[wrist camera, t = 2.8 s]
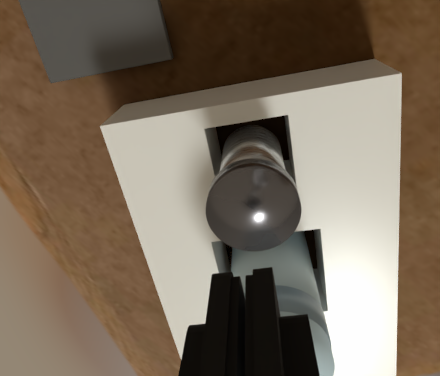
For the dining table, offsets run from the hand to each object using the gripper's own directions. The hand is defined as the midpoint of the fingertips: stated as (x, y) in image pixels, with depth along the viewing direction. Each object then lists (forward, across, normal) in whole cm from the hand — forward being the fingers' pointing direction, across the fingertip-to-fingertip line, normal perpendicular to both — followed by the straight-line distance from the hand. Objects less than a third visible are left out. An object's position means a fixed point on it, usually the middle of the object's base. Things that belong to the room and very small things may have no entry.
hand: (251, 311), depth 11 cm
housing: (+14, 0, +7) cm, 15 cm away
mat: (+13, +7, -9) cm, 18 cm away
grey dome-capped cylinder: (+10, 0, -1) cm, 11 cm away
